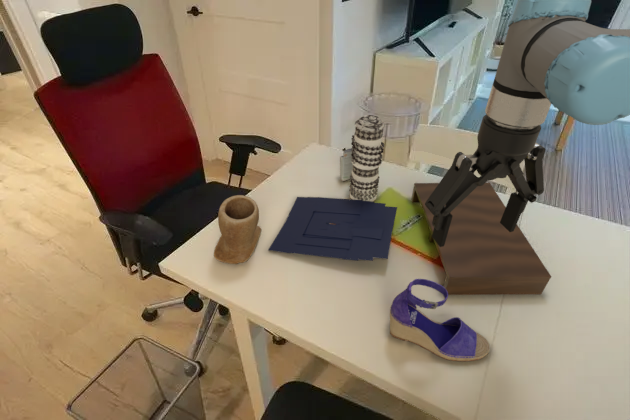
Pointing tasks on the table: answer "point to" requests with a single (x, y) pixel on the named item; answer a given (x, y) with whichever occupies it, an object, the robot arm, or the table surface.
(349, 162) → the ink box
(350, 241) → the papers
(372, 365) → the table surface
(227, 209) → the stone cup
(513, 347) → the table surface
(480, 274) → the walnut wood board
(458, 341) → the sandal
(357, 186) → the decorative candle
